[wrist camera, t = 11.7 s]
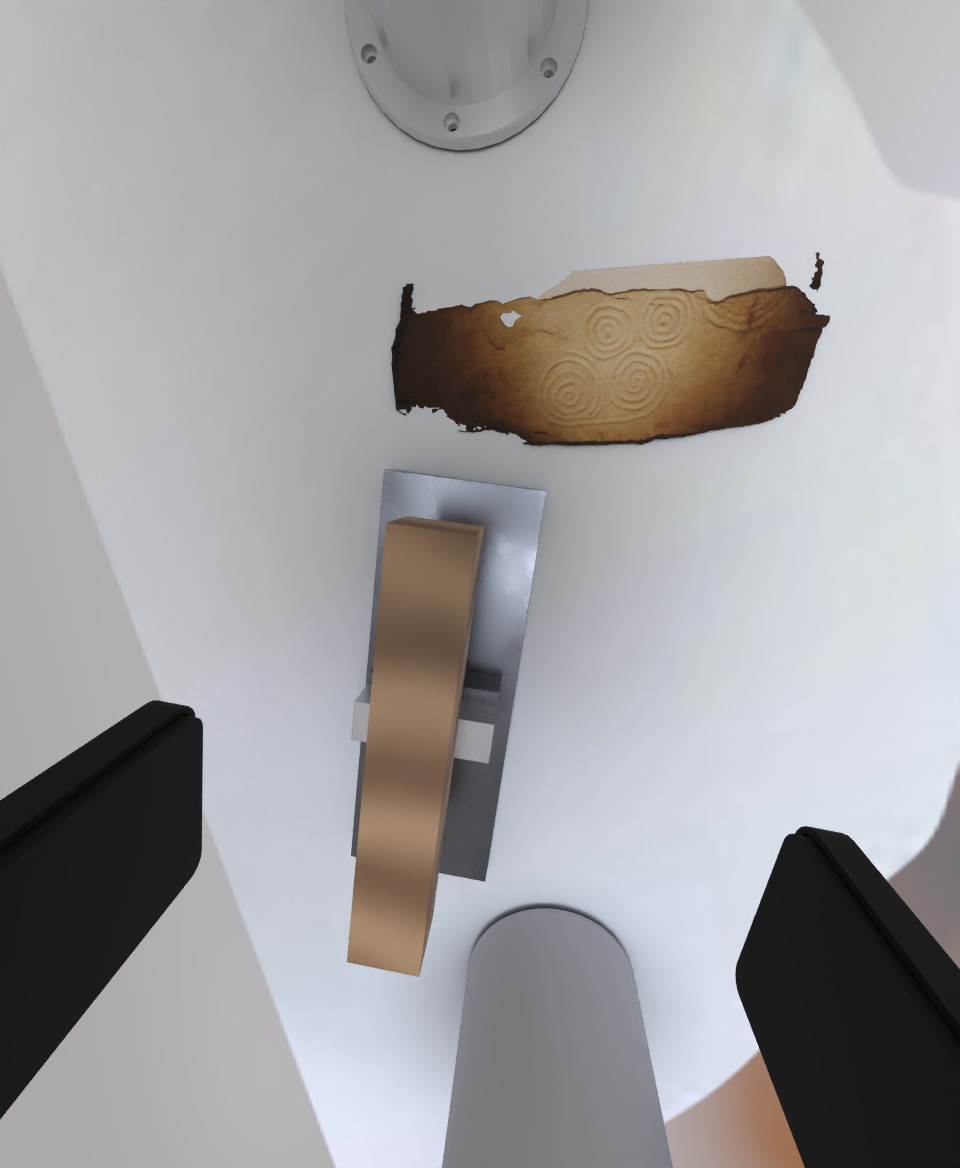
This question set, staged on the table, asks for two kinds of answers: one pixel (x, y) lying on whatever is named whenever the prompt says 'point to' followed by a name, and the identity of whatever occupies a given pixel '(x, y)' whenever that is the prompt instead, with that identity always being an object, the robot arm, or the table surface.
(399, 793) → the walnut bar
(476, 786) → the stand
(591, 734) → the table surface
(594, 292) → the parchment
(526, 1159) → the cylinder vase
